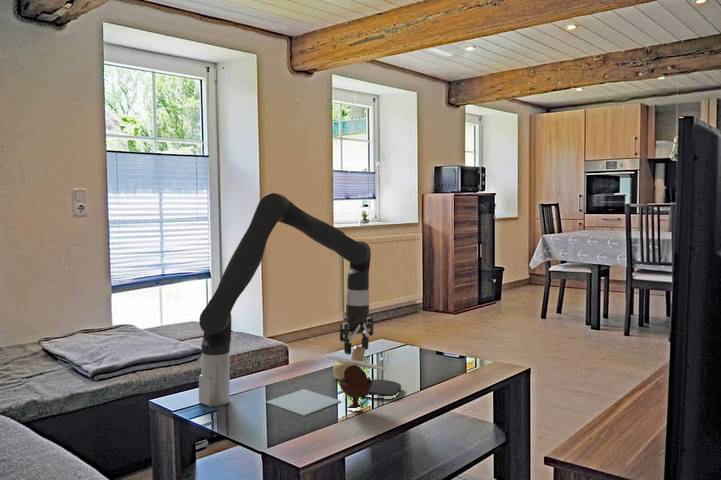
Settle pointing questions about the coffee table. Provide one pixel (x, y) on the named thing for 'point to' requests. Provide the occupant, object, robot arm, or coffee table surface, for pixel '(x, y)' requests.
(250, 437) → the coffee table surface
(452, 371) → the coffee table surface
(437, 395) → the coffee table surface
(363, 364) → the cover sheet
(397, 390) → the media streaming box
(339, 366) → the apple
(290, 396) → the rubber mat
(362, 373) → the ice cream bowl
